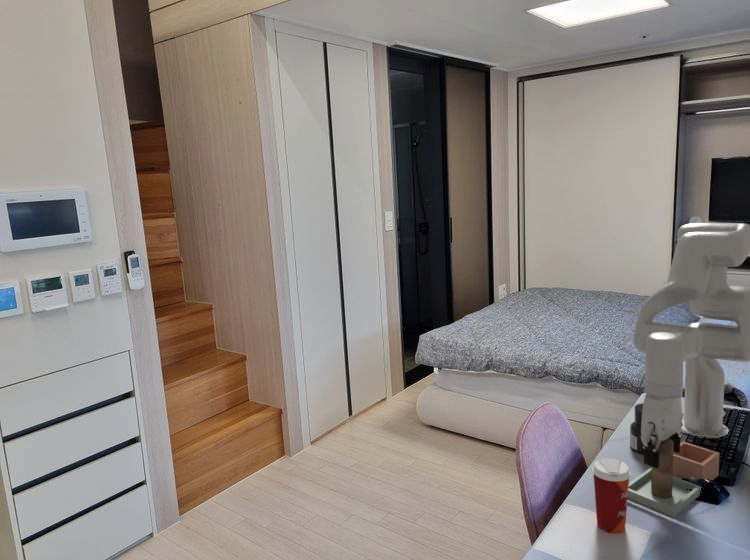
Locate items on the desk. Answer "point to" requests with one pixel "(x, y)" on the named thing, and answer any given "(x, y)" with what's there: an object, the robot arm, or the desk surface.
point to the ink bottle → (637, 431)
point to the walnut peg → (663, 471)
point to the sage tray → (671, 506)
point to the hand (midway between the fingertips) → (662, 458)
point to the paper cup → (611, 494)
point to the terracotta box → (695, 462)
